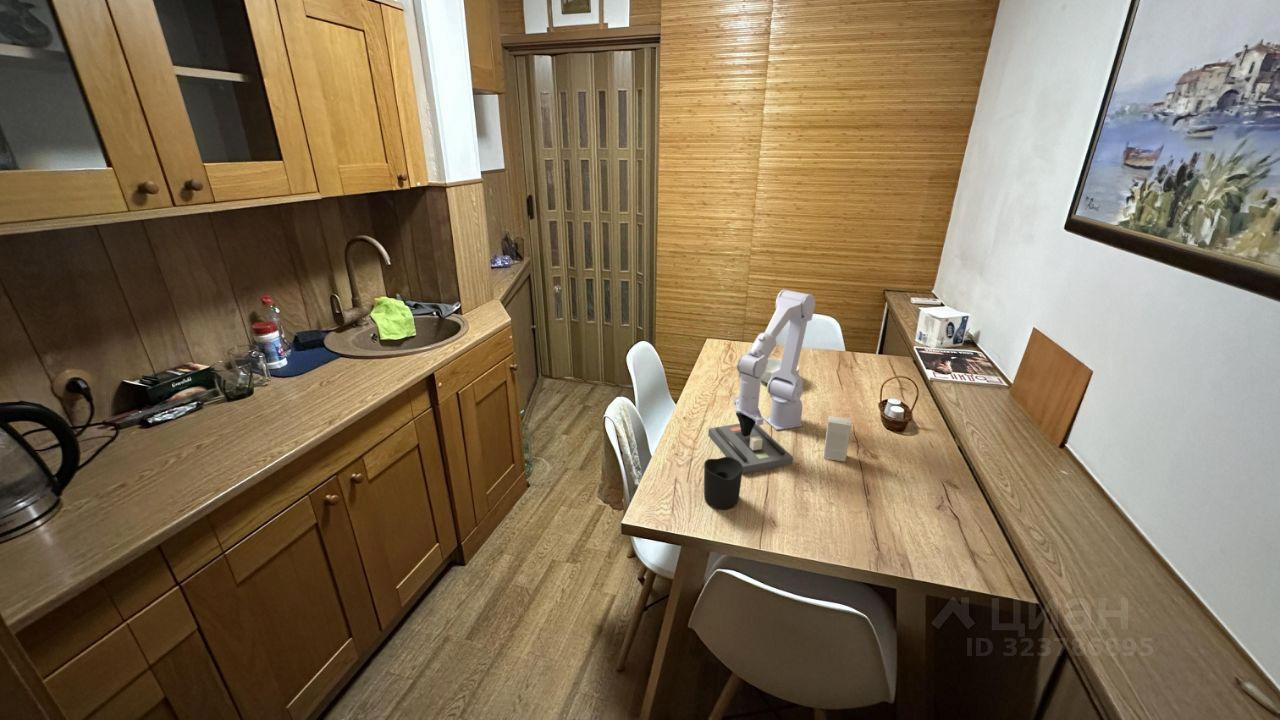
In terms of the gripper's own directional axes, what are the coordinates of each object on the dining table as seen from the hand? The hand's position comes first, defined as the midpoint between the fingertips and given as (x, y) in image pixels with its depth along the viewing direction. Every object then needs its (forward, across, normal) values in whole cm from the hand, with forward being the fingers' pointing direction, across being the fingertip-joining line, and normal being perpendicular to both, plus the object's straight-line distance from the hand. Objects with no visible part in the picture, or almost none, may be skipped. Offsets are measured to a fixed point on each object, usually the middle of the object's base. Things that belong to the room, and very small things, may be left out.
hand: (745, 435), depth 148 cm
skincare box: (+4, +13, +22) cm, 26 cm away
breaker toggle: (+1, +6, 0) cm, 6 cm away
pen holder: (+4, +21, -18) cm, 28 cm away
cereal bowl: (+4, -39, +34) cm, 52 cm away
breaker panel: (+4, +2, 0) cm, 4 cm away
